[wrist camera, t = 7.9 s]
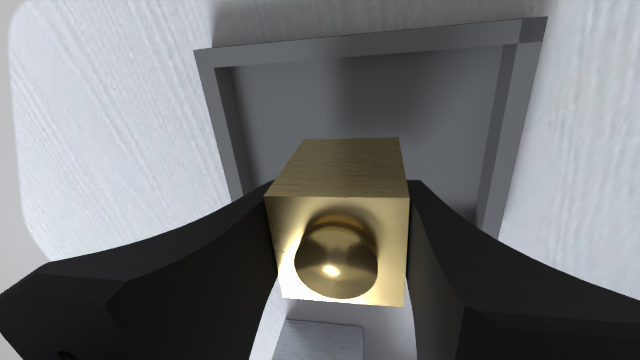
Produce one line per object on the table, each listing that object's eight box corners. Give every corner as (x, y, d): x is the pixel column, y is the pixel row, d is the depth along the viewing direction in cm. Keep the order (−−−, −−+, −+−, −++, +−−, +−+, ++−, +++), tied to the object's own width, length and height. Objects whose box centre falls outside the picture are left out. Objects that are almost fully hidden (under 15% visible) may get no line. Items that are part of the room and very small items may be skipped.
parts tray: (527, 18, 12) (548, 16, 10) (483, 239, 17) (493, 258, 15) (210, 47, 15) (193, 49, 13) (252, 229, 19) (242, 245, 18)
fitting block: (398, 136, 12) (412, 210, 7) (395, 219, 14) (405, 324, 9) (303, 139, 13) (255, 206, 8) (312, 216, 14) (278, 312, 10)
